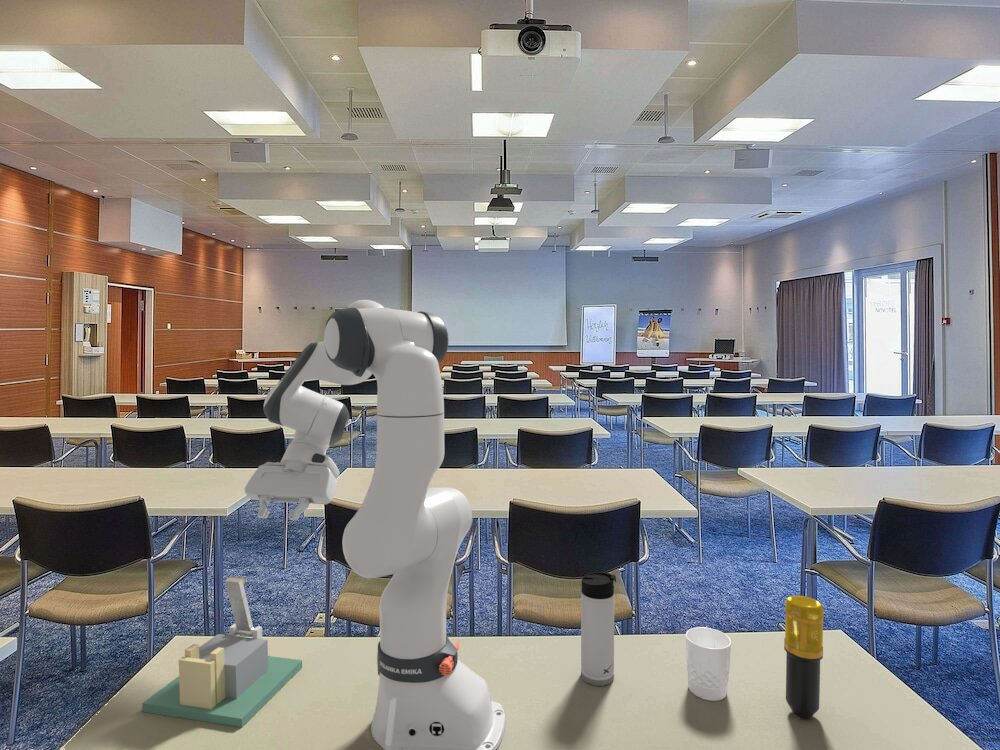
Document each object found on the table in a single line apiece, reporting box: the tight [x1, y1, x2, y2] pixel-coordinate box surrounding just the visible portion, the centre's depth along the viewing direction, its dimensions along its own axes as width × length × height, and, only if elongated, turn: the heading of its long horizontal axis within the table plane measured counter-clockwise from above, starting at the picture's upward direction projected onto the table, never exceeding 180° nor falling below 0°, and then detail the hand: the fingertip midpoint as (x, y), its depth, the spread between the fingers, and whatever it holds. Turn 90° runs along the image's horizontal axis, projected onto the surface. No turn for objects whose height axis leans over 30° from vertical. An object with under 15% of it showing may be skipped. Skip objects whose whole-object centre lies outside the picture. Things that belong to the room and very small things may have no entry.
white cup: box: [685, 626, 732, 702], centre depth 103 cm, size 8×8×10 cm
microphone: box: [783, 595, 825, 720], centre depth 96 cm, size 6×13×20 cm, turn 99°
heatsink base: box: [141, 623, 303, 728], centre depth 104 cm, size 20×18×10 cm
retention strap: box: [224, 576, 255, 638], centre depth 107 cm, size 4×13×2 cm
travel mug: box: [580, 571, 617, 687], centre depth 107 cm, size 6×7×20 cm
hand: (276, 518), depth 119 cm, fingers open, 6 cm apart
